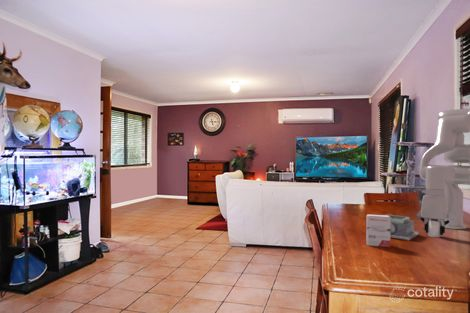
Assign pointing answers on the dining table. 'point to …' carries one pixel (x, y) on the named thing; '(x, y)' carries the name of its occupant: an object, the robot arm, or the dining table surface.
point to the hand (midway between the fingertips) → (434, 233)
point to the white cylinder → (434, 227)
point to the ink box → (378, 230)
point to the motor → (402, 227)
